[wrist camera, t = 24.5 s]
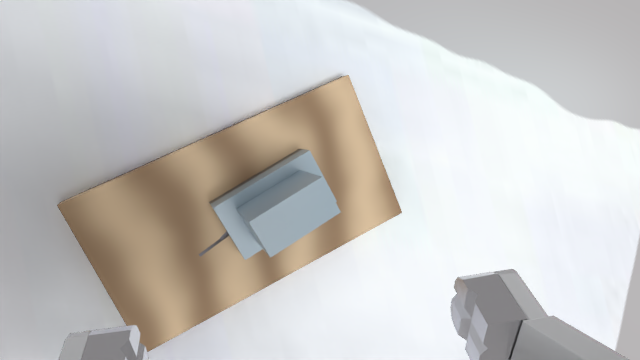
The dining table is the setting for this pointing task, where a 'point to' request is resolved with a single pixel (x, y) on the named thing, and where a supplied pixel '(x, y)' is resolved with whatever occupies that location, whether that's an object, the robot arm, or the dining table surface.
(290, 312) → the dining table surface
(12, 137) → the dining table surface
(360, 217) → the oak board
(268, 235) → the block
